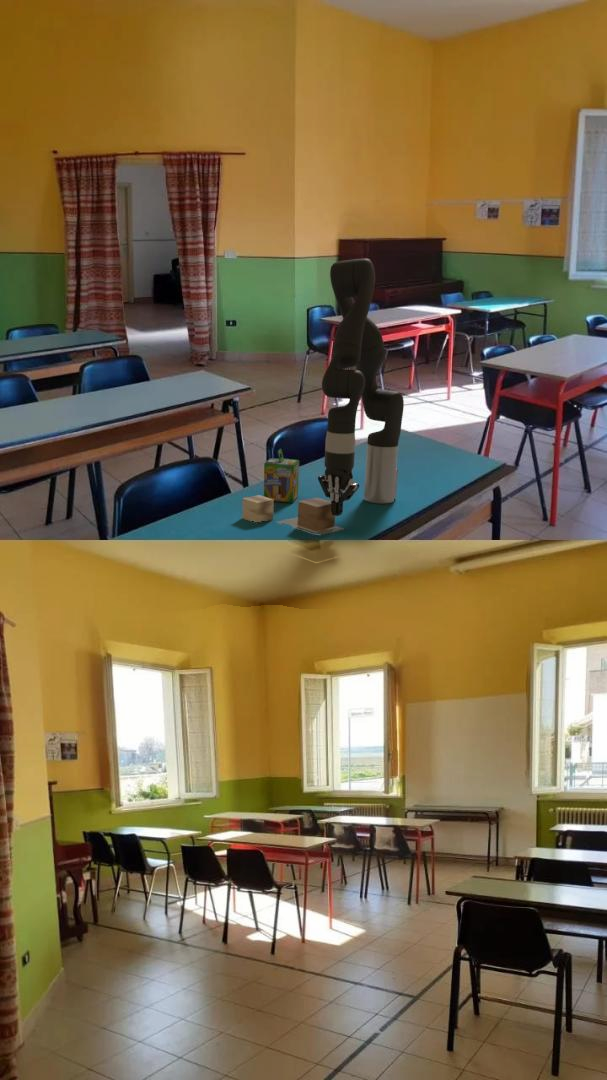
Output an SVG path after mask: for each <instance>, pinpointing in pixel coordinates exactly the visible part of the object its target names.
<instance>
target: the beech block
mask: <svg viewBox="0 0 607 1080" xmlns="http://www.w3.org/2000/svg"><path fill="white" fill-rule="evenodd" d="M274 502H275V501H274V499H270V498H267V497H264V495H260V494H257V495H253V496H248V497H243V498H242V514H241V515H242V518H241V519H243V520H246V521H250V522H252V521H254V522H253V523H255V522H260V523H262V522H261V521H265V522H268V521H273V520H274V513H275V512H274V505H275V503H274Z"/></svg>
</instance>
